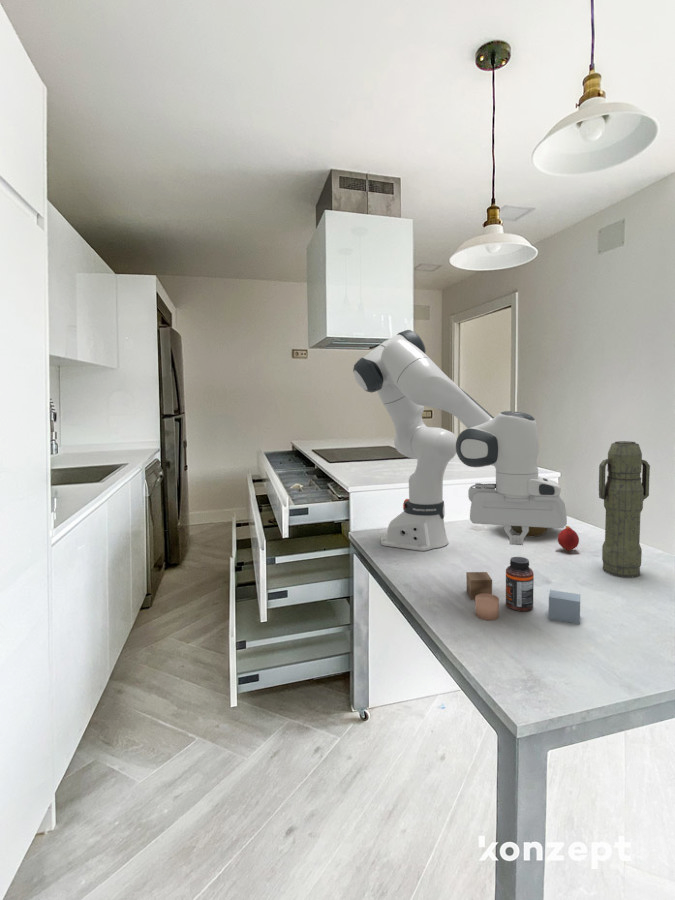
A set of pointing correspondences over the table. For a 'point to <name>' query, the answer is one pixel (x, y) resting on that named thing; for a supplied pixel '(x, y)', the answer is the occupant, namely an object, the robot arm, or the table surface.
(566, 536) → the onion
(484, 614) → the peach rounded cylinder
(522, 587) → the supplement bottle
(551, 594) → the slate block
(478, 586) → the walnut cube
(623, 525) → the thermos
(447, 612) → the table surface
